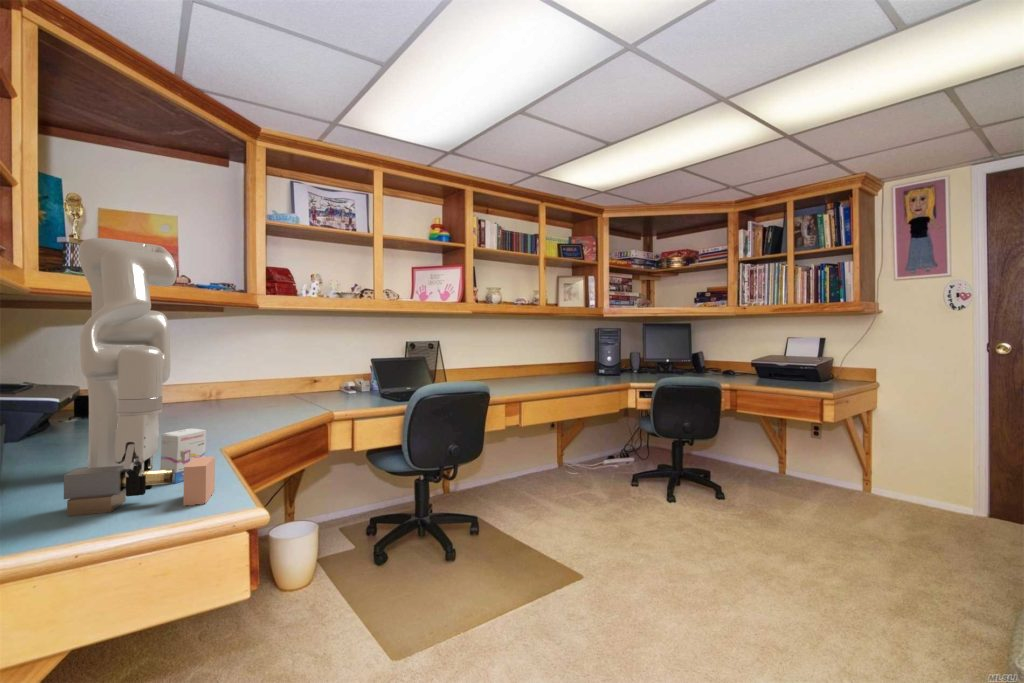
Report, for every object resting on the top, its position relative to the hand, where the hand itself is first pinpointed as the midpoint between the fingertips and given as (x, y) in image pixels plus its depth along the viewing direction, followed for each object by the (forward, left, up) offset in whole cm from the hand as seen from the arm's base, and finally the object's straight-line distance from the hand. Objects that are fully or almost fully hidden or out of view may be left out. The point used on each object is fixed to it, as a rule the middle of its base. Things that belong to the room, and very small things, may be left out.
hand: (139, 491), depth 99 cm
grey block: (-5, -5, -3) cm, 8 cm away
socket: (+8, +8, -3) cm, 11 cm away
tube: (-1, -1, +1) cm, 2 cm away
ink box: (-11, +15, -3) cm, 19 cm away
